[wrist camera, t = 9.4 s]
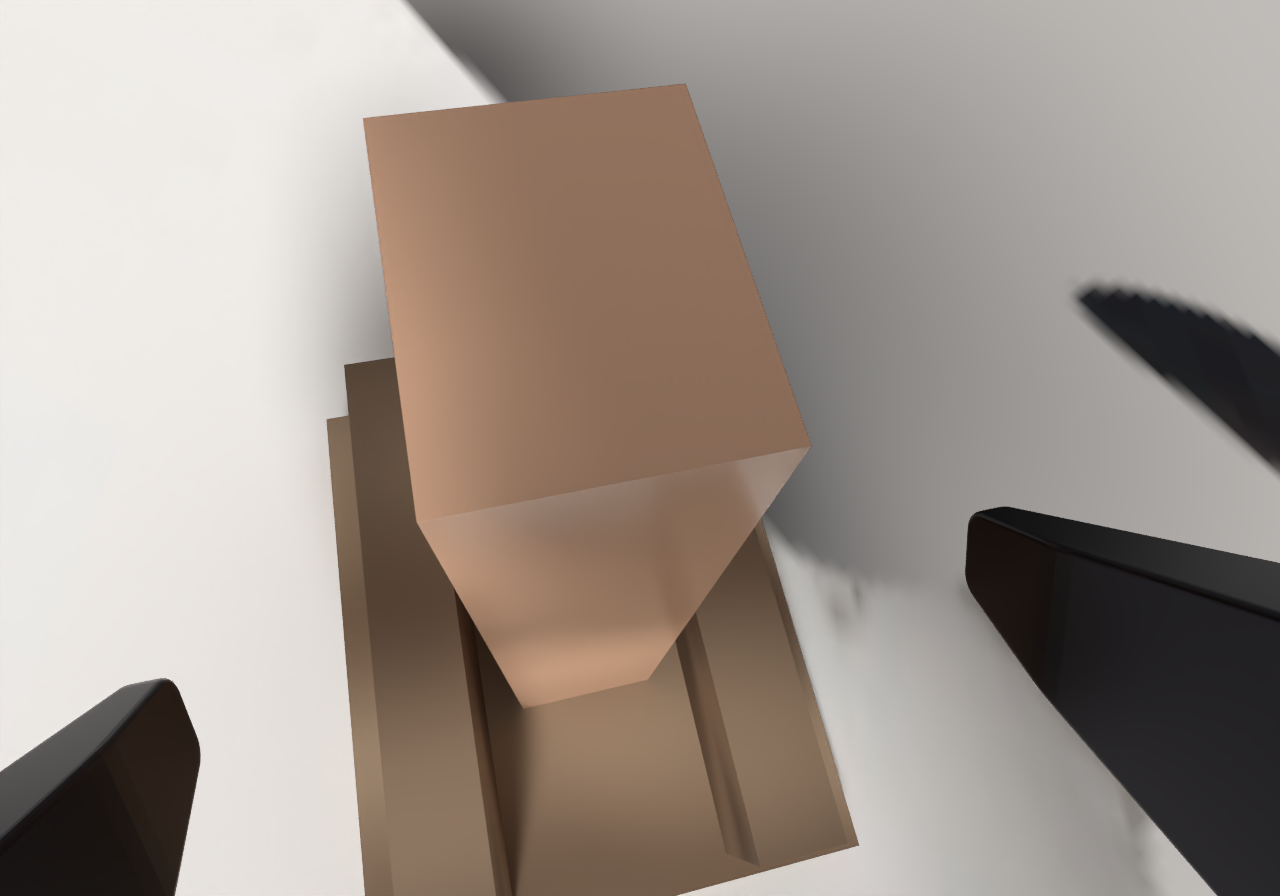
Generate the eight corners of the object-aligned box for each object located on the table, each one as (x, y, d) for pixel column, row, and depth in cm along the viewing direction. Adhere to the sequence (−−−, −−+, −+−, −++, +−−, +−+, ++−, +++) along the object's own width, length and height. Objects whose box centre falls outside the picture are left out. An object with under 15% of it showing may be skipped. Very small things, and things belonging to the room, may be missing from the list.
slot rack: (841, 841, 18) (921, 856, 14) (385, 966, 16) (323, 1025, 12) (705, 378, 22) (736, 287, 18) (339, 438, 20) (283, 353, 16)
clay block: (647, 679, 18) (811, 445, 6) (523, 708, 17) (416, 522, 5) (612, 528, 19) (685, 83, 7) (496, 551, 18) (364, 118, 7)
